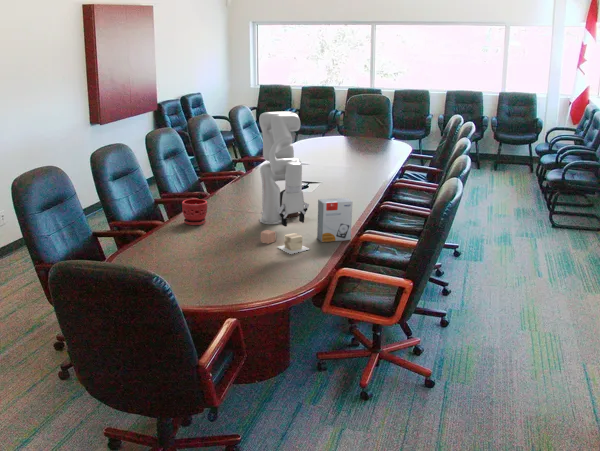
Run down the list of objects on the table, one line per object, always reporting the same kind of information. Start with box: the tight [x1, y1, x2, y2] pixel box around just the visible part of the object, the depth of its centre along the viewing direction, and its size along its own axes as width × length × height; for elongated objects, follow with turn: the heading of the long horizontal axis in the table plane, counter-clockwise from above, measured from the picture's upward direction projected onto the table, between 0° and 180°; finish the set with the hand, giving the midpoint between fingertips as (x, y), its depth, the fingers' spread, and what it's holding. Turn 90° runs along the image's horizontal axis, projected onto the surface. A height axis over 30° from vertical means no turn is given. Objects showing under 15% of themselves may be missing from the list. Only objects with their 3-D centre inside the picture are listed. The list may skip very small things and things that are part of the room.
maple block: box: [284, 232, 303, 251], centre depth 308 cm, size 6×6×6 cm
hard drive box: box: [316, 197, 353, 243], centre depth 321 cm, size 16×8×20 cm, turn 105°
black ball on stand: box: [280, 189, 300, 219], centre depth 360 cm, size 13×13×15 cm
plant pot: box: [181, 198, 208, 226], centre depth 346 cm, size 13×13×12 cm
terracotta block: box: [260, 229, 276, 245], centre depth 319 cm, size 5×5×5 cm
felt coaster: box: [276, 244, 311, 255], centre depth 309 cm, size 11×11×1 cm
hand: (293, 223), depth 307 cm, fingers open, 9 cm apart
